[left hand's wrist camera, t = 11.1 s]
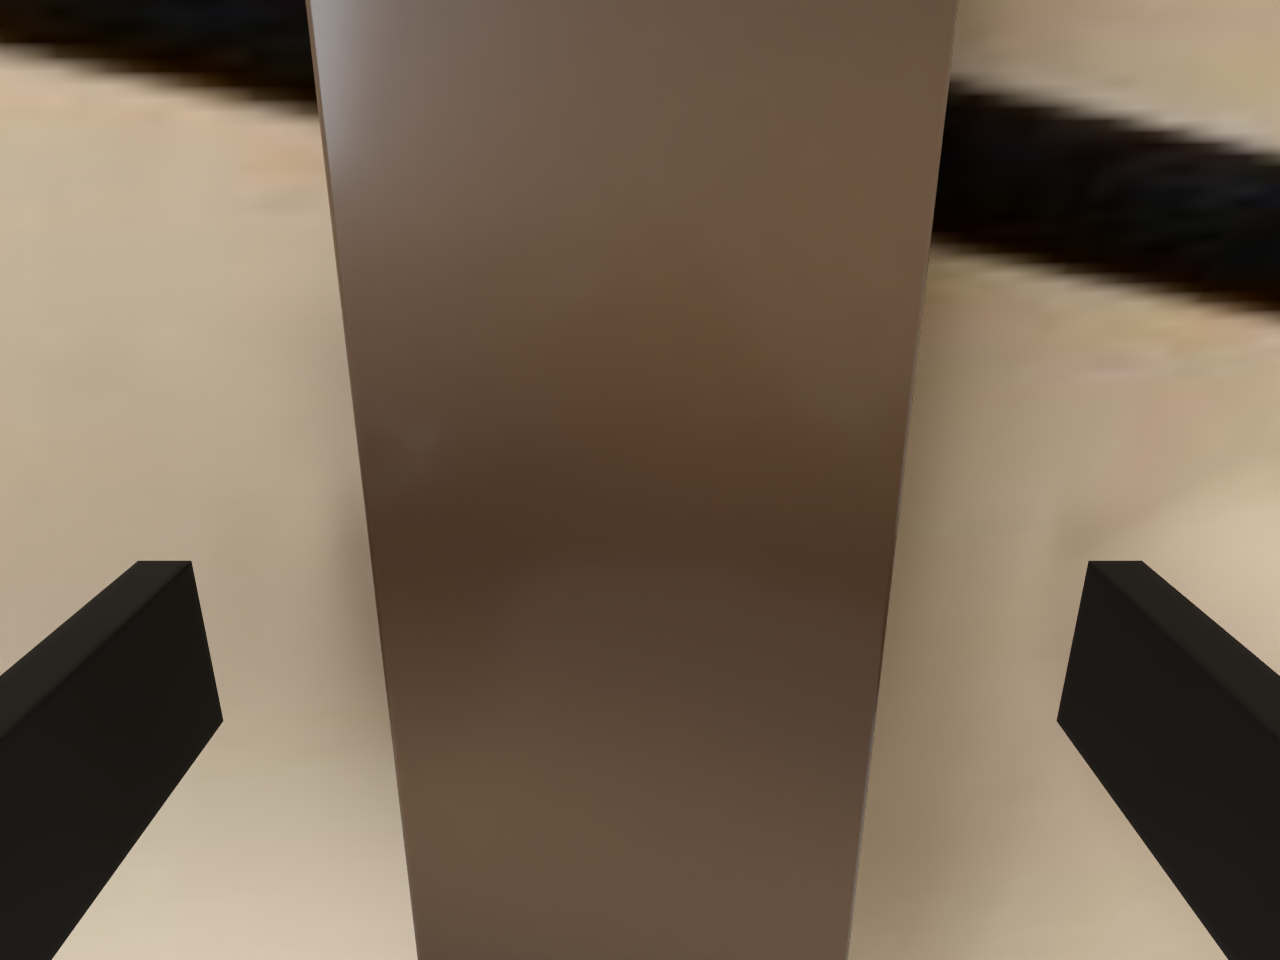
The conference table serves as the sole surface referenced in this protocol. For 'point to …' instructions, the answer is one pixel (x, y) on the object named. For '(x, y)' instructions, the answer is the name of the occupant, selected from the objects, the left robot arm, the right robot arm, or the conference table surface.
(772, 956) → the beam
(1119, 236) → the conference table surface
